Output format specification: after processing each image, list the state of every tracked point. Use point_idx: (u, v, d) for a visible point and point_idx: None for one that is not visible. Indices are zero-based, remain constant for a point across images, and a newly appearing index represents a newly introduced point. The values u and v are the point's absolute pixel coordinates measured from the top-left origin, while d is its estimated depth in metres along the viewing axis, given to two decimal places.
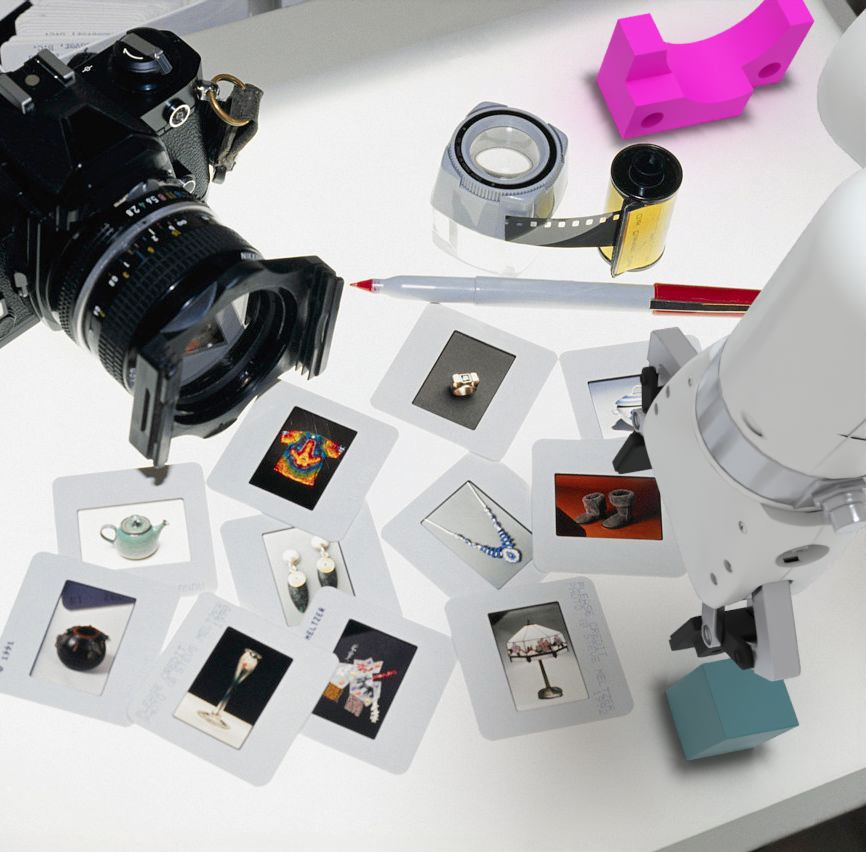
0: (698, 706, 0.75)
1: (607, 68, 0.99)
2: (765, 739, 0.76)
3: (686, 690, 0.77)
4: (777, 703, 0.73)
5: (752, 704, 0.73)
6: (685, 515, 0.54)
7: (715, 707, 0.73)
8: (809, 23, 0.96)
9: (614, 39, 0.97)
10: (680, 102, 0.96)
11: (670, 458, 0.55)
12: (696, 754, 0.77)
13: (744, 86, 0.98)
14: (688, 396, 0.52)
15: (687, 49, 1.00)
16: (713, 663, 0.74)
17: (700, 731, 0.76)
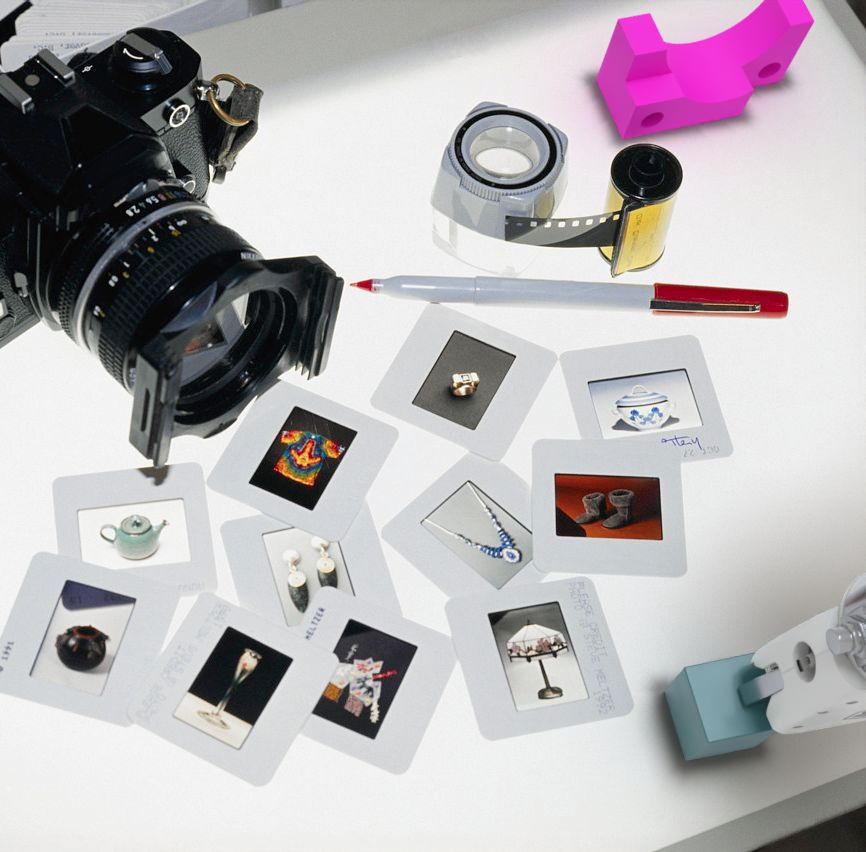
0: (686, 708, 0.75)
1: (607, 68, 0.99)
2: (759, 739, 0.75)
3: (677, 691, 0.77)
4: (762, 705, 0.72)
5: (736, 707, 0.73)
6: None
7: (698, 711, 0.73)
8: (809, 23, 0.96)
9: (614, 39, 0.97)
10: (680, 102, 0.96)
11: None
12: (691, 755, 0.77)
13: (744, 86, 0.98)
14: None
15: (687, 49, 1.00)
16: (696, 666, 0.74)
17: (691, 733, 0.76)
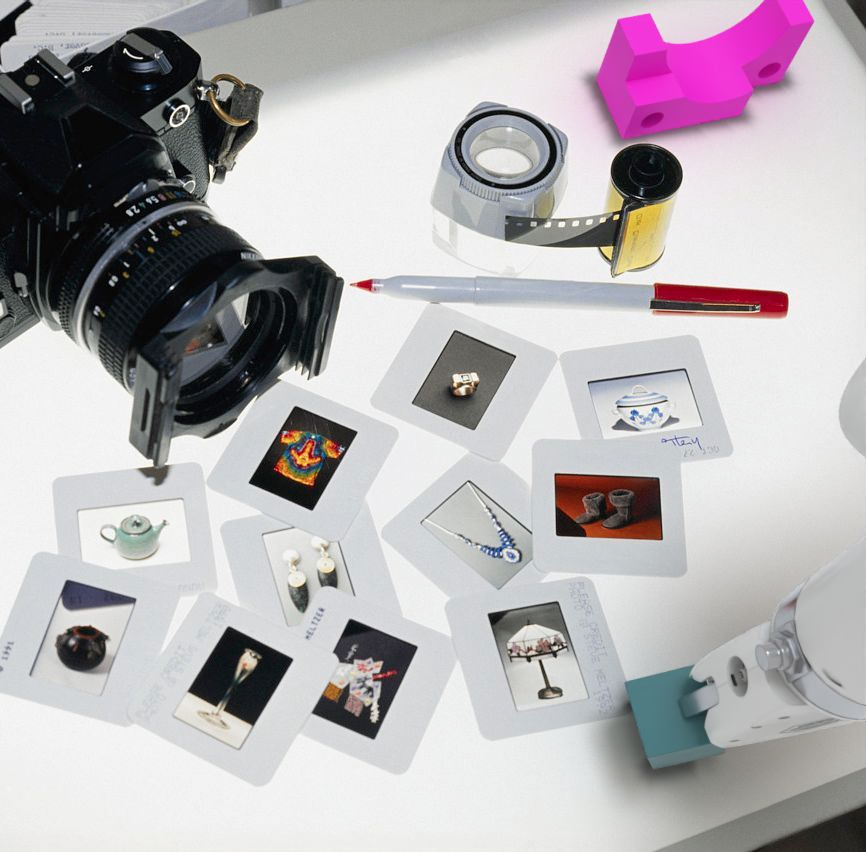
0: None
1: (607, 68, 0.99)
2: (715, 749, 0.75)
3: None
4: (702, 718, 0.72)
5: (676, 721, 0.72)
6: None
7: None
8: (809, 23, 0.96)
9: (614, 39, 0.97)
10: (680, 102, 0.96)
11: None
12: (651, 765, 0.77)
13: (744, 86, 0.98)
14: None
15: (687, 49, 1.00)
16: (636, 681, 0.73)
17: None
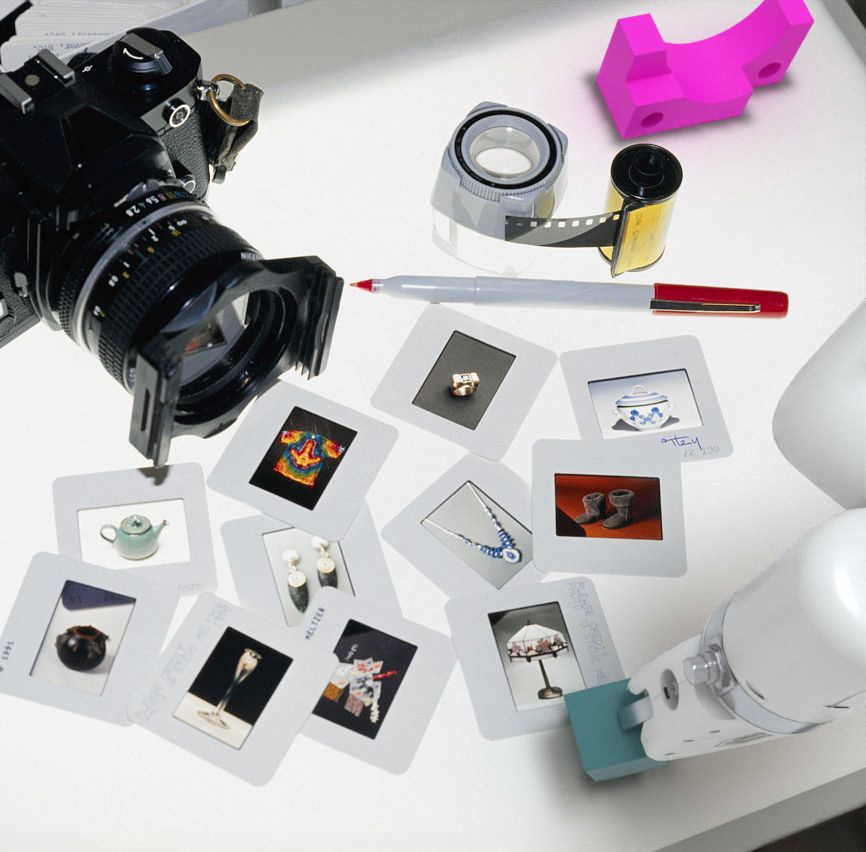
0: None
1: (607, 68, 0.99)
2: (655, 762, 0.74)
3: None
4: (640, 731, 0.71)
5: (613, 734, 0.72)
6: None
7: (576, 739, 0.72)
8: (809, 23, 0.96)
9: (614, 39, 0.97)
10: (680, 102, 0.96)
11: None
12: (592, 778, 0.76)
13: (744, 86, 0.98)
14: None
15: (687, 49, 1.00)
16: (575, 693, 0.73)
17: None
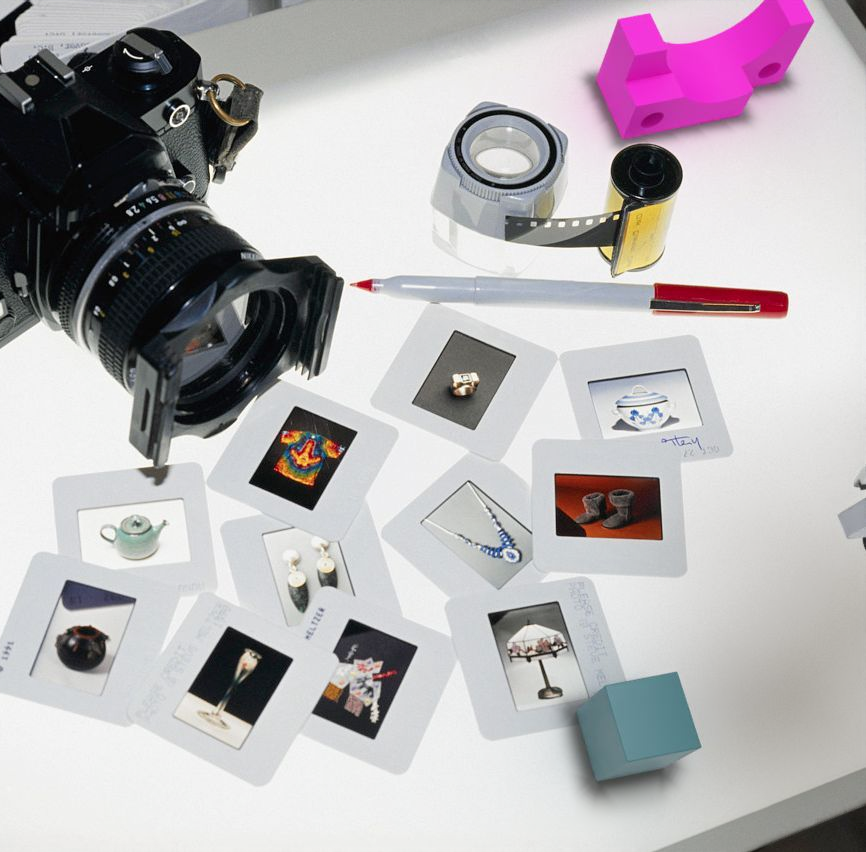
0: (603, 727, 0.75)
1: (607, 68, 0.99)
2: (671, 760, 0.75)
3: (593, 711, 0.76)
4: (679, 725, 0.72)
5: (654, 726, 0.72)
6: None
7: (617, 730, 0.72)
8: (809, 23, 0.96)
9: (614, 39, 0.97)
10: (680, 102, 0.96)
11: None
12: (603, 775, 0.76)
13: (744, 86, 0.98)
14: None
15: (687, 49, 1.00)
16: (616, 685, 0.73)
17: (606, 753, 0.75)
